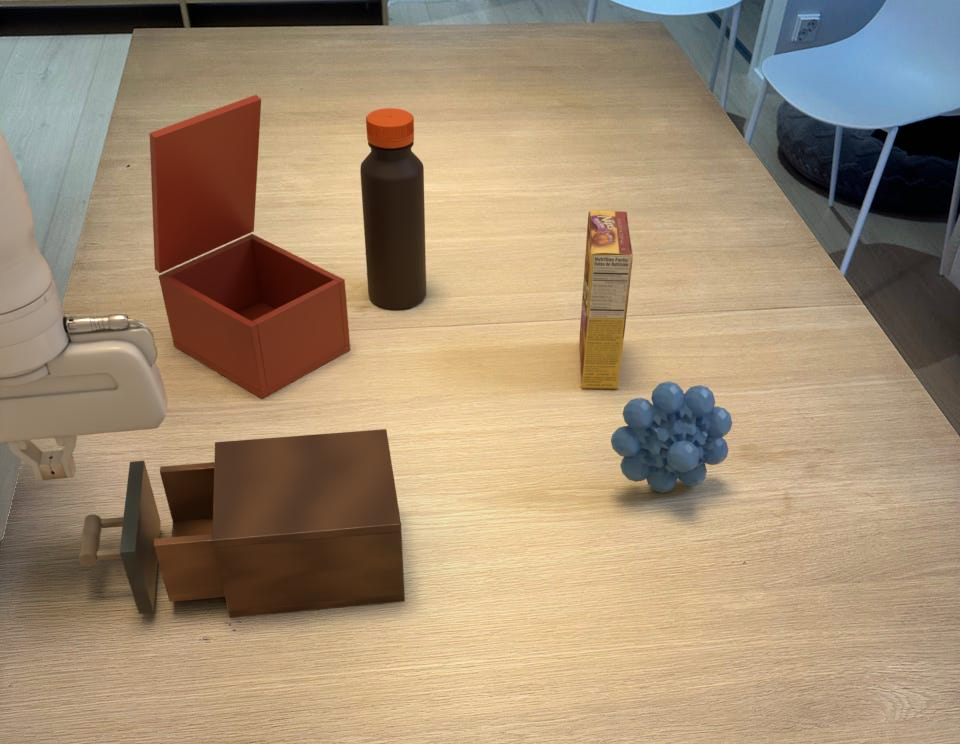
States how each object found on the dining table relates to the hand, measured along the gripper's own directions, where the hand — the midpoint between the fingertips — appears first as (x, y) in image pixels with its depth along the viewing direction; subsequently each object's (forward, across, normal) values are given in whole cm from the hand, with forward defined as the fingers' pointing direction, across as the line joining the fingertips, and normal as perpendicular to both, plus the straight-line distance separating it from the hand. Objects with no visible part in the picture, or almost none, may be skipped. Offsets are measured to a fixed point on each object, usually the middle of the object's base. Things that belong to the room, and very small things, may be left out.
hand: (57, 475), depth 87 cm
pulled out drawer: (+7, -10, +4) cm, 13 cm away
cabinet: (+8, -20, +4) cm, 22 cm away
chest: (+8, -16, -30) cm, 35 cm away
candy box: (+9, -51, -22) cm, 57 cm away
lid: (-8, -13, -34) cm, 37 cm away
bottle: (+8, -32, -40) cm, 51 cm away
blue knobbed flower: (+9, -53, 0) cm, 54 cm away
